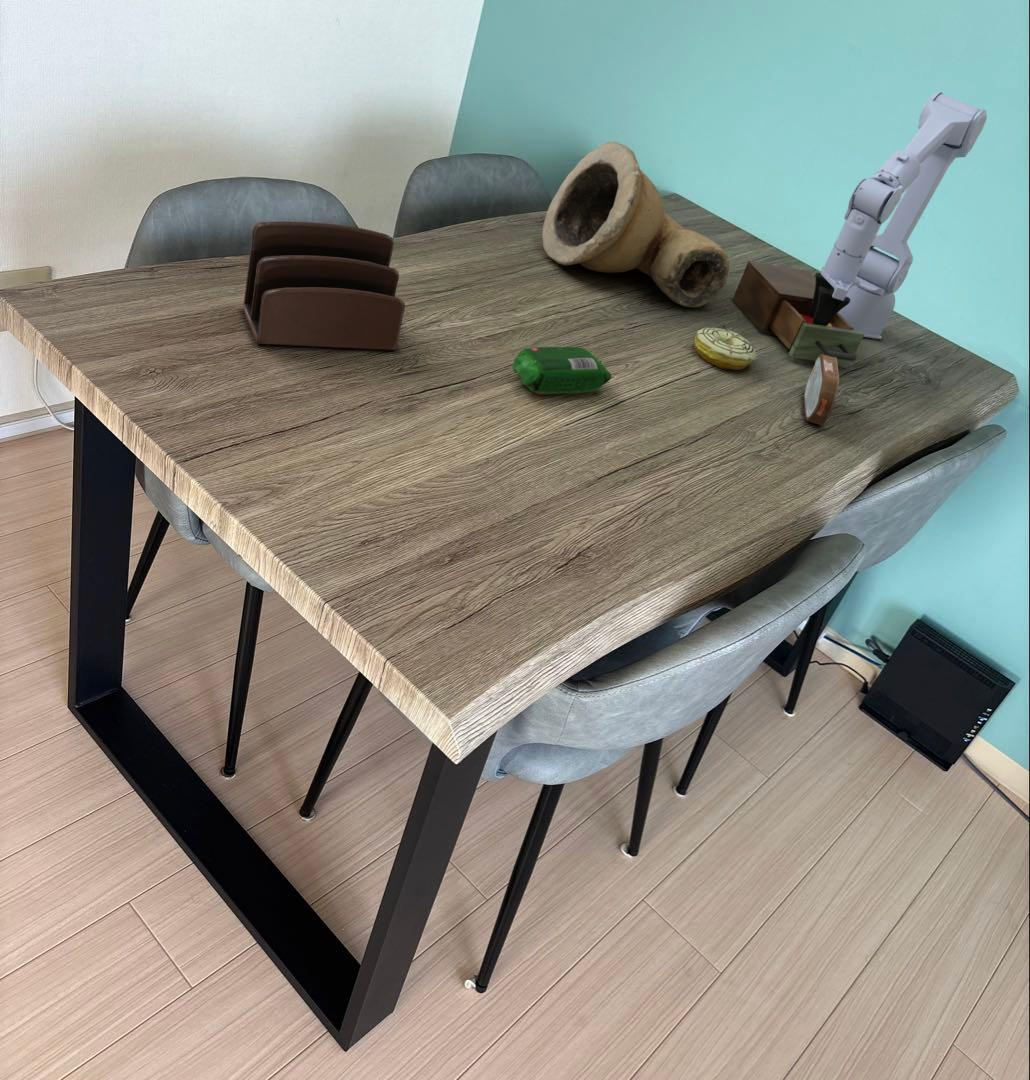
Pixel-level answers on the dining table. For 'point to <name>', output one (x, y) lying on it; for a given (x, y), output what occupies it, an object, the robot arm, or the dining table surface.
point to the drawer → (814, 333)
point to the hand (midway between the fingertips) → (816, 321)
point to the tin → (821, 389)
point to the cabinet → (771, 291)
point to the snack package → (560, 370)
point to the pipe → (629, 229)
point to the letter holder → (322, 287)
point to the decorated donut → (724, 348)
